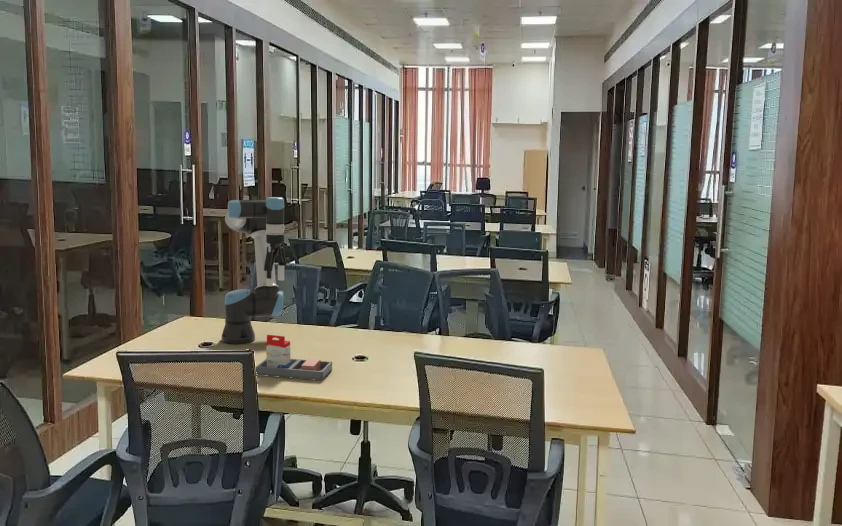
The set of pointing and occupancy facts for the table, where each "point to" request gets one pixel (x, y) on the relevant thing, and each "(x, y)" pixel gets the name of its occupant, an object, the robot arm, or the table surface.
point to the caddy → (295, 370)
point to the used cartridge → (311, 365)
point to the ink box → (278, 352)
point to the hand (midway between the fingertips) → (275, 283)
